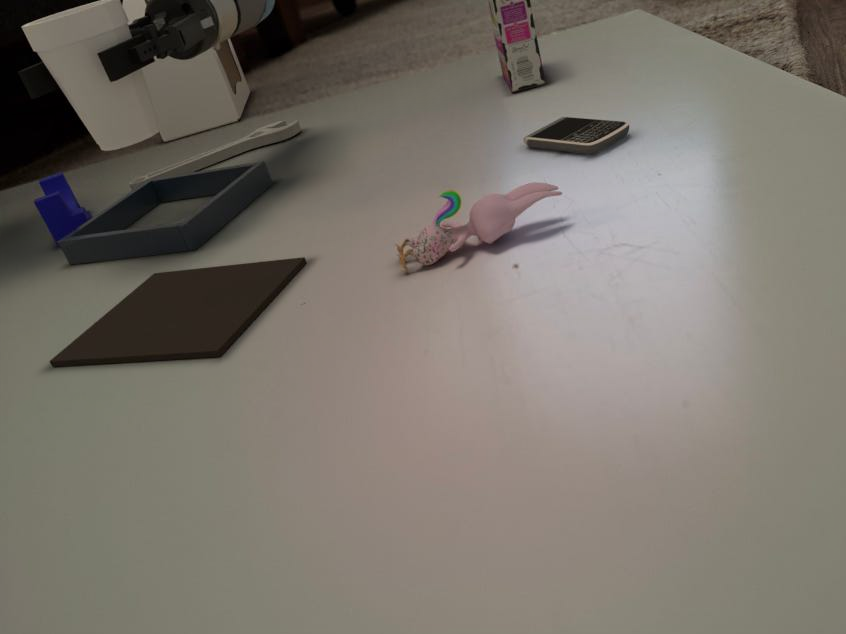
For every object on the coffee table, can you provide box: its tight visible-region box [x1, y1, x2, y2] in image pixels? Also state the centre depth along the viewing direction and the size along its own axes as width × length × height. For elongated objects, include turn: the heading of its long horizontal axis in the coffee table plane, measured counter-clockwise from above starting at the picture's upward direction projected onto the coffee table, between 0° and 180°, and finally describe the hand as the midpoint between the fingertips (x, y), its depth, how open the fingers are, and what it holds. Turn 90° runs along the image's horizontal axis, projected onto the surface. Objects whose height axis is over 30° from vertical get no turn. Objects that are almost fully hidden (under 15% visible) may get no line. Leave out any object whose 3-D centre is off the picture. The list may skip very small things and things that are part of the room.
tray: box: [58, 160, 274, 266], centre depth 100 cm, size 18×18×3 cm
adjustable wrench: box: [128, 119, 302, 191], centre depth 122 cm, size 25×6×2 cm, turn 114°
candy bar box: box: [486, 0, 546, 93], centre depth 113 cm, size 11×5×16 cm, turn 6°
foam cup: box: [21, 0, 160, 152], centre depth 86 cm, size 10×9×13 cm
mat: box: [49, 256, 307, 368], centre depth 77 cm, size 18×16×1 cm
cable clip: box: [33, 171, 94, 248], centre depth 108 cm, size 12×4×6 cm, turn 23°
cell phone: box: [522, 116, 630, 155], centre depth 90 cm, size 6×11×1 cm, turn 41°
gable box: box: [121, 0, 251, 143], centre depth 143 cm, size 22×13×28 cm, turn 9°
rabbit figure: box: [394, 181, 563, 274], centre depth 72 cm, size 6×6×15 cm
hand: (66, 76), depth 81 cm, fingers closed on foam cup, 9 cm apart
